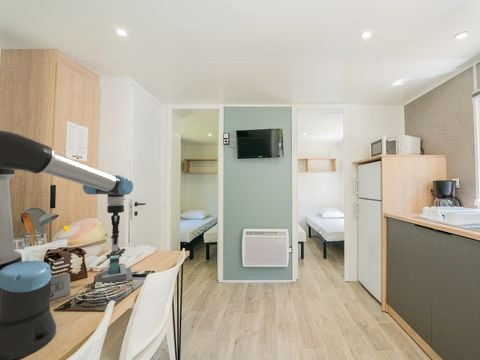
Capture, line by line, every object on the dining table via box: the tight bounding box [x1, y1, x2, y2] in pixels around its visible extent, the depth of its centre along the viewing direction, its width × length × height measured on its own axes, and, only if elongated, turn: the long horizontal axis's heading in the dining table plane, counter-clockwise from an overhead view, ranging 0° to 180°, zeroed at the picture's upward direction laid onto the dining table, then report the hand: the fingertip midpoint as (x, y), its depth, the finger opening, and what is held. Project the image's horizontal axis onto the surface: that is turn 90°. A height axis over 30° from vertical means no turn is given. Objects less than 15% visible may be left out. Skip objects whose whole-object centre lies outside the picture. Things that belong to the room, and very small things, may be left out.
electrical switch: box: [50, 272, 72, 302], centre depth 93 cm, size 9×5×9 cm, turn 141°
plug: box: [109, 255, 120, 275], centre depth 111 cm, size 4×4×10 cm
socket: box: [94, 263, 134, 284], centre depth 111 cm, size 18×16×4 cm
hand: (114, 248), depth 111 cm, fingers open, 9 cm apart
